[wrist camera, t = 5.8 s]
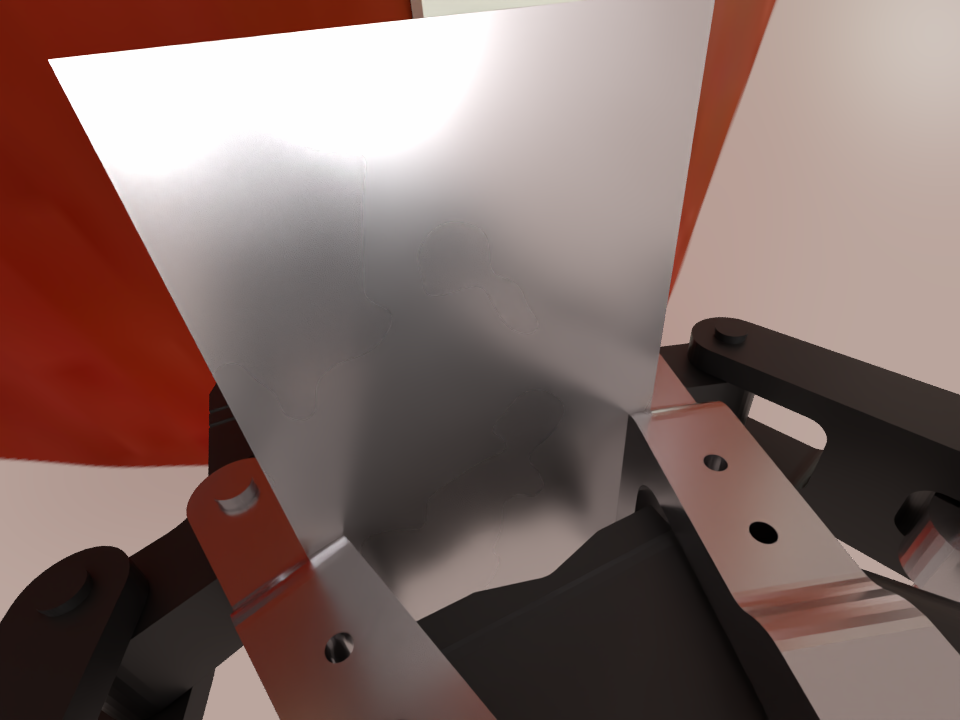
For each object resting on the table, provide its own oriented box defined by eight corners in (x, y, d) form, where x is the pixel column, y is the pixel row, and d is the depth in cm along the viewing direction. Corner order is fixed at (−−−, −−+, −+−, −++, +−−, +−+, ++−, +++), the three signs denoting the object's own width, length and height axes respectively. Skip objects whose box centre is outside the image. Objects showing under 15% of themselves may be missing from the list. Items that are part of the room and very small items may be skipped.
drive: (161, 46, 8) (50, 61, 2) (428, 16, 9) (726, -17, 4) (347, 511, 15) (421, 775, 9) (482, 456, 16) (614, 660, 11)
